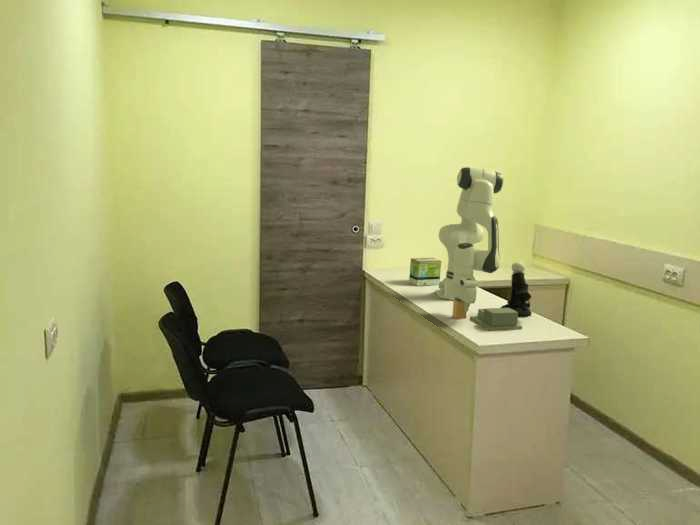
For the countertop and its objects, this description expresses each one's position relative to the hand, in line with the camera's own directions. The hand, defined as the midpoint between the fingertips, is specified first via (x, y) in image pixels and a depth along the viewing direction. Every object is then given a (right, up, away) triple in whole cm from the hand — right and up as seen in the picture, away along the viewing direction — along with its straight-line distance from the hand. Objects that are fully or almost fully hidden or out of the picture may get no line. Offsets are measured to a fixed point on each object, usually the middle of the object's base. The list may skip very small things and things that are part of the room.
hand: (461, 308), depth 269 cm
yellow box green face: (-1, -4, +1) cm, 4 cm away
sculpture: (+28, -4, +8) cm, 29 cm away
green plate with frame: (+14, -6, -7) cm, 17 cm away
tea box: (-8, +8, +70) cm, 71 cm away
